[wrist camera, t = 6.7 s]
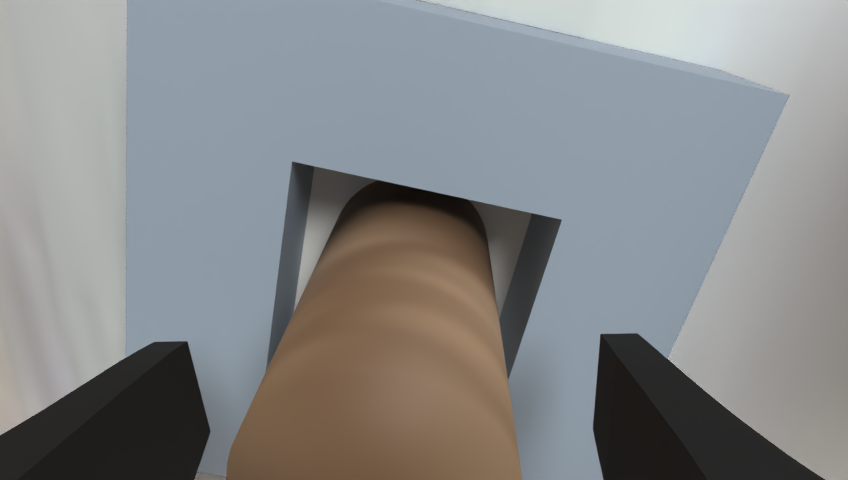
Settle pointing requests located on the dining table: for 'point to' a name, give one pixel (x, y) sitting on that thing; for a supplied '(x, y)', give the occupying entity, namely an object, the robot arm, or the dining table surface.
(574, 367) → the socket block
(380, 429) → the peg
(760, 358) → the dining table surface
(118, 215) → the dining table surface
